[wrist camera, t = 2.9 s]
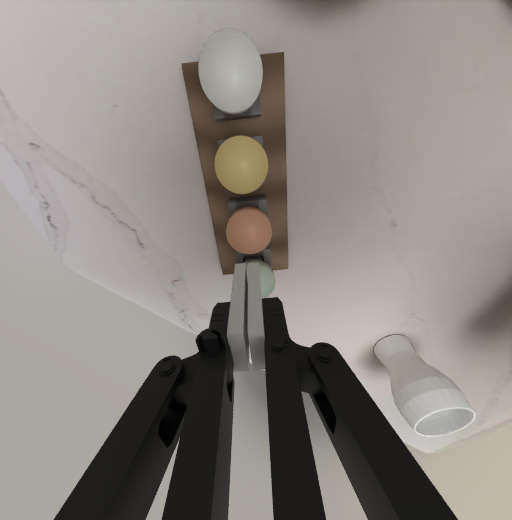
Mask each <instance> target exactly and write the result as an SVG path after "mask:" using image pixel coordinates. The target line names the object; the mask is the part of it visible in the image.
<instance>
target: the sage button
mask: <svg viewBox="0 0 512 520" xmlns="http://www.w3.org/2000/svg"><path fill="white" fill-rule="evenodd" d="M252 262H259V271H260V282H261V292H262V299H263V298H265V297H267V296H269V295H270V294H271V293H272V291H273V290H274V287H275V279H274V274H273V270H272V268H271V267H270V266H269V265H268V264H267V263H265V262H263V261H262V257H261V256H257V257H246V258H245V262H244V263H245V264H246V272H247V279H248V263H252Z"/></svg>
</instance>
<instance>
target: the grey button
mask: <svg viewBox="0 0 512 520" xmlns="http://www.w3.org/2000/svg"><path fill="white" fill-rule="evenodd" d="M198 71H199V78H200V83H201V86H202V88H203V90H204V92H205V94H206V96H207V97H208V99H209V100H210V101H211V102H212V103H213V104H214V105H215V106H216V107H217V108H218V109H219V110H221V111H223V112H225V113H228V114H240V113H243V112H245V111H247V110H248V109H249V108H251V107H252V106H253V104H254V103H255V101H256V100H257V98H258V96H259V93H260V89H261V84H262V78H263V68H262V61H261V57H260V54H259V52H258V50H257V48H256V46H255V44H254V43H253V41H252V40H251V39H250V38H249V37H248V36H247V35H246V34H244V33H243V32H241V31H239V30H236V29H231V28H225V29H221V30H219V31H216V32H215V33H213V34H212V35H211V36H210V37H209V38H208V39H207V40H206V42H205V44H204V45H203V48H202V50H201V53H200V57H199V64H198Z"/></svg>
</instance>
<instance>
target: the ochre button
mask: <svg viewBox="0 0 512 520" xmlns="http://www.w3.org/2000/svg"><path fill="white" fill-rule="evenodd" d="M215 171H216V175H217V177H218V179H219V181H220V182H221V184H222V185H223V186H224V187H225V188H226V189H228V190H229V191H231V192H234V193H237V194H247V193H251V192H253V191H255V190H256V189H258V188H259V187H260V186H261V185H262V183H263V182H264V180H265V178H266V176H267V172H268V159H267V155H266V153H265V151H264V149H263V148H262V146H261V145H260V144H259V143H258V142H257V141H256V140H254V139H252V138H250V137H247V136H234V137H231V138H229V139H227V140H226V141H224V142H223V143H222V144H221V146H220V147H219V149H218V151H217V153H216V156H215Z"/></svg>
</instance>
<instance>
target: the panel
mask: <svg viewBox="0 0 512 520" xmlns="http://www.w3.org/2000/svg"><path fill="white" fill-rule="evenodd" d="M260 57H261V61H262V68H263V78H262V84H261V89H260V93H259V96H258V98H257V100H256V101H255V103H254V104H253V106H252V107H251V108H249V109H248V110H247V111H245V112H243V113H240V114H228V113H225V112H223V111H221V110H219V109H218V108H217V107H216V106H215V105H214V104H213V103H212V102H211V101H210V100H209V99H208V97H207V96H206V94H205V92H204V90H203V88H202V86H201V83H200V78H199V71H198V64H199V62H192V63H183V64H182V69H183V74H184V80H185V85H186V90H187V95H188V100H189V105H190V110H191V115H192V120H193V125H194V130H195V135H196V140H197V145H198V150H199V156H200V161H201V166H202V171H203V176H204V181H205V186H206V191H207V196H208V201H209V206H210V211H211V216H212V221H213V226H214V232H215V237H216V242H217V247H218V252H219V257H220V262H221V267H222V272H223V275H226V274H234V269H235V264H241V263H244V262H245V258H246V257H257V256H261V257H262V261H263V262H265V263H267V264H268V265H269V266H270V267H271V268H272V270H281V269H288V233H287V184H286V135H285V86H284V52H281V53H272V54H263V55H260ZM234 136H247V137H250V138H252V139H254V140H256V141H257V142H258V143H259V144H260V145H261V146H262V148H263V149H264V151H265V153H266V155H267V159H268V172H267V176H266V178H265V180H264V182H263V183H262V185H261V186H260V187H259V188H258V189H256V190H255V191H253V192H251V193H247V194H237V193H234V192H231V191H229V190H228V189H226V188H225V187H224V186H223V185H222V184H221V182H220V181H219V179H218V177H217V175H216V171H215V156H216V153H217V151H218V149H219V147H220V146H221V144H222V143H223V142H224V141H226V140H227V139H229V138H231V137H234ZM243 207H255V208H258V209H260V210H262V211H263V212H264V213H265V214H266V215H267V217H268V218H269V221H270V224H271V228H272V237H271V240H270V243H269V244H268V246H267V247H266V248H265V249H263V250H262V251H260V252H258V253H255V254H244V253H240V252H238V251H236V250H235V249H234V248H233V247H232V246H231V245H230V244H229V242H228V240H227V237H226V228H227V224H228V221H229V218H230V217H231V215H232V214H233V213H234V212H235V211H236V210H238V209H240V208H243Z"/></svg>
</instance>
